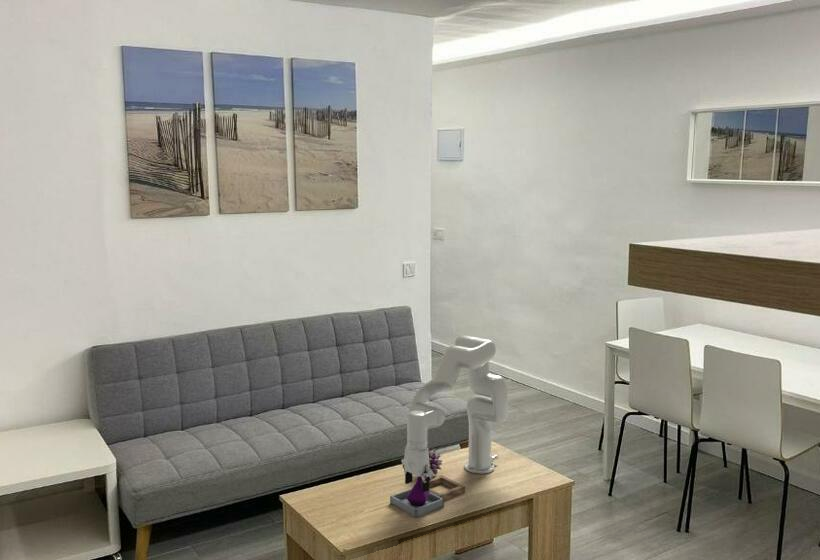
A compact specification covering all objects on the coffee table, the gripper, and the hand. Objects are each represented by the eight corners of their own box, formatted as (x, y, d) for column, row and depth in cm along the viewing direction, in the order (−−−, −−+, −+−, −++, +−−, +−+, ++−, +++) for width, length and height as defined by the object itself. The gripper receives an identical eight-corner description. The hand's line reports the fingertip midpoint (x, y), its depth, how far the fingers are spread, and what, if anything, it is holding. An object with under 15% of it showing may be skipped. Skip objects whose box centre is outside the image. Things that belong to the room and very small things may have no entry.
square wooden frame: (441, 481, 302) (441, 475, 302) (465, 492, 292) (465, 486, 292) (416, 490, 293) (416, 484, 293) (439, 502, 283) (439, 496, 283)
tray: (417, 493, 291) (417, 485, 290) (443, 506, 280) (444, 499, 279) (390, 503, 282) (390, 496, 281) (415, 517, 271) (415, 509, 270)
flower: (448, 475, 308) (448, 448, 306) (429, 484, 299) (429, 456, 297) (427, 467, 315) (427, 441, 313) (408, 476, 306) (408, 449, 305)
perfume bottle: (429, 500, 283) (430, 455, 281) (426, 509, 276) (426, 463, 273) (410, 498, 285) (410, 453, 282) (406, 507, 278) (406, 461, 275)
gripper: (394, 439, 281) (395, 482, 284) (425, 453, 268) (424, 497, 271) (409, 435, 286) (409, 477, 289) (440, 448, 273) (440, 491, 276)
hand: (417, 487), depth 280 cm, fingers open, 9 cm apart
